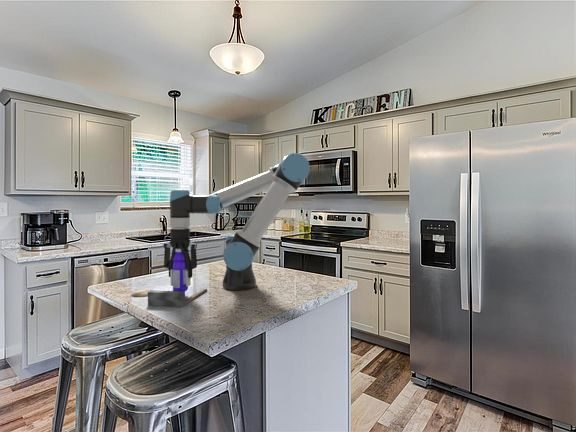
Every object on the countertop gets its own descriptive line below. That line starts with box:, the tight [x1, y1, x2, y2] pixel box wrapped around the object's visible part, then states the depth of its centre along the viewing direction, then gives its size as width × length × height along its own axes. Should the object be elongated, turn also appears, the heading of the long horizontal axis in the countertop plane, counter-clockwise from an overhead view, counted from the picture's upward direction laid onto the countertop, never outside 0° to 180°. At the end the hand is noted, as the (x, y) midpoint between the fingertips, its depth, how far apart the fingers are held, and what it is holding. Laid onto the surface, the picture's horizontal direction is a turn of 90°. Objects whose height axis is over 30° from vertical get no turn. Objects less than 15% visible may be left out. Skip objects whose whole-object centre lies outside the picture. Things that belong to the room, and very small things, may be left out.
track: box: [147, 288, 208, 308], centre depth 132 cm, size 14×22×5 cm, turn 171°
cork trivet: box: [131, 289, 155, 298], centre depth 139 cm, size 9×9×1 cm
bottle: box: [172, 249, 189, 293], centre depth 134 cm, size 7×6×17 cm
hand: (180, 285), depth 134 cm, fingers closed on bottle, 6 cm apart
